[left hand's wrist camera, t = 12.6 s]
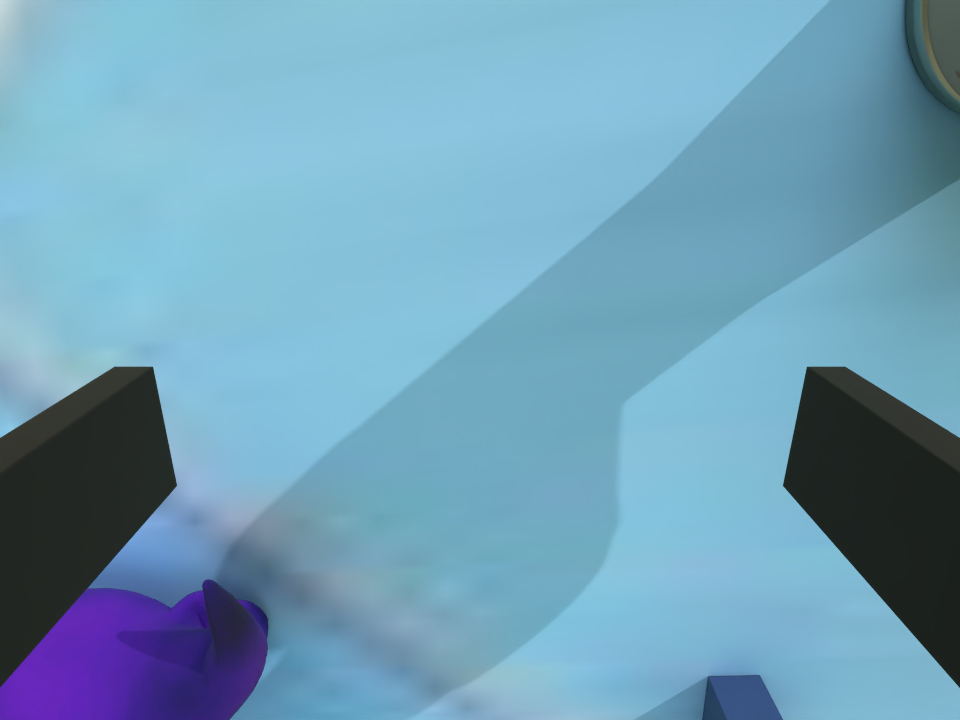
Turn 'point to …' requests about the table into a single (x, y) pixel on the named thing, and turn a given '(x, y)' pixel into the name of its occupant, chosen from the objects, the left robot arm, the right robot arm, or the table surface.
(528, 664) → the table surface
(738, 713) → the brick
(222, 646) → the toy
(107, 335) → the table surface
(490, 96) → the table surface
